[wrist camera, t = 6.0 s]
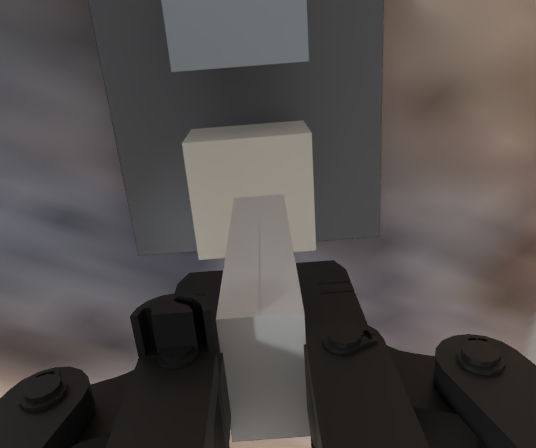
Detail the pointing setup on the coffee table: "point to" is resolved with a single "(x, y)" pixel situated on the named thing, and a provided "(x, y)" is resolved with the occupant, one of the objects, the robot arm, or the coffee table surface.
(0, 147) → the coffee table surface
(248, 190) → the key ivory
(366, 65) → the keypad base
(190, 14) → the key slate
